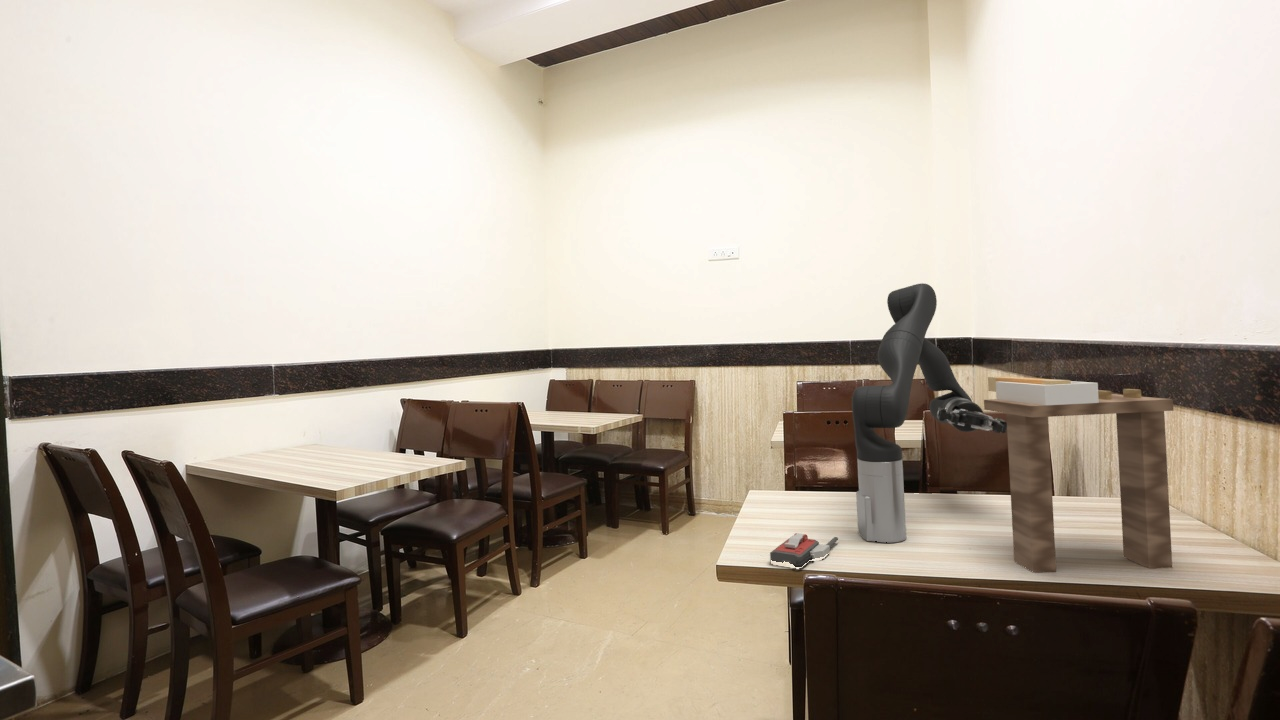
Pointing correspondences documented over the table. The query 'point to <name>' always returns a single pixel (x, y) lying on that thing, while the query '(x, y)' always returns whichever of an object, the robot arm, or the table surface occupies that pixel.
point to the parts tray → (1048, 393)
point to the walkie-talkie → (800, 550)
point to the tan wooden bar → (1023, 381)
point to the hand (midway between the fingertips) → (977, 424)
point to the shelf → (1137, 475)
